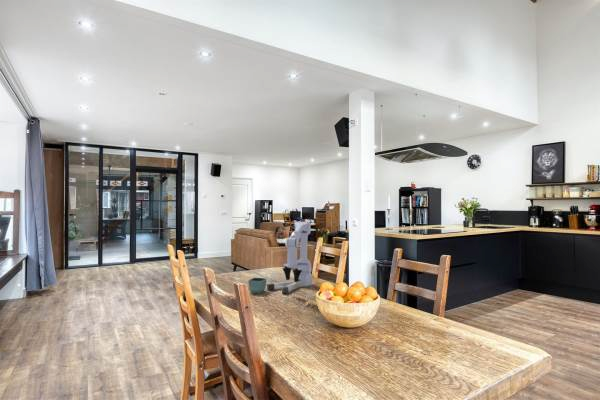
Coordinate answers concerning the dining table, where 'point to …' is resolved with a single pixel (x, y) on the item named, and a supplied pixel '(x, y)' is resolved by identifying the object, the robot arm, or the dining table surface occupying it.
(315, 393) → the dining table surface
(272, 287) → the tongs fixed
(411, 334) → the dining table surface
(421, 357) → the dining table surface
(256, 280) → the flower pot
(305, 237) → the robot arm
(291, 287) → the bar
